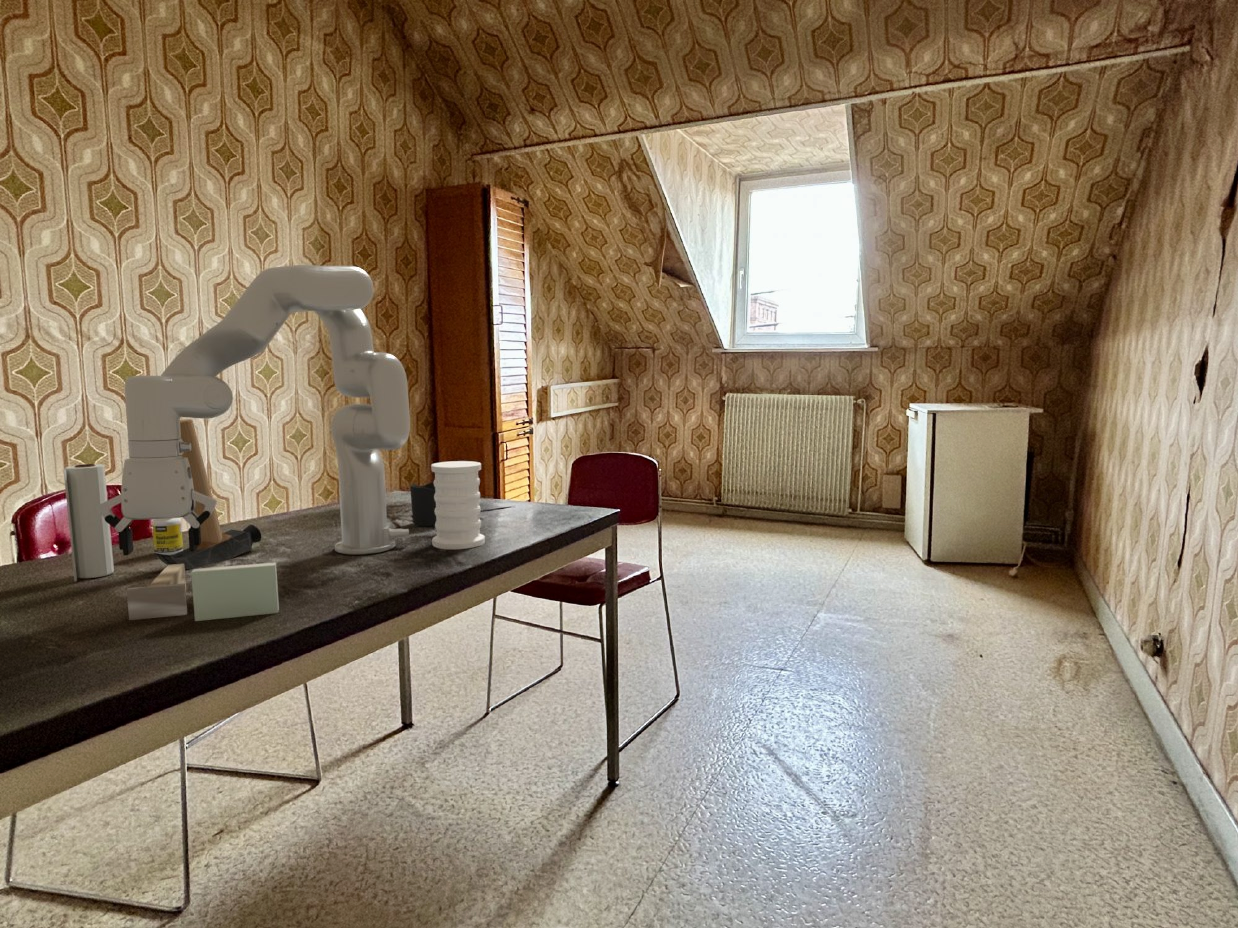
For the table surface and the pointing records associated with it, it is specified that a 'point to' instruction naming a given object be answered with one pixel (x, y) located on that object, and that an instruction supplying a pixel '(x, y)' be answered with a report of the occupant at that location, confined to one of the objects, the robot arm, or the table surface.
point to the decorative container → (457, 505)
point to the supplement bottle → (167, 536)
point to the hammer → (212, 539)
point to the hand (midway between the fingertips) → (161, 551)
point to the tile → (235, 591)
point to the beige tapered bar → (160, 595)
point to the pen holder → (423, 505)
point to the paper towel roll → (88, 521)
